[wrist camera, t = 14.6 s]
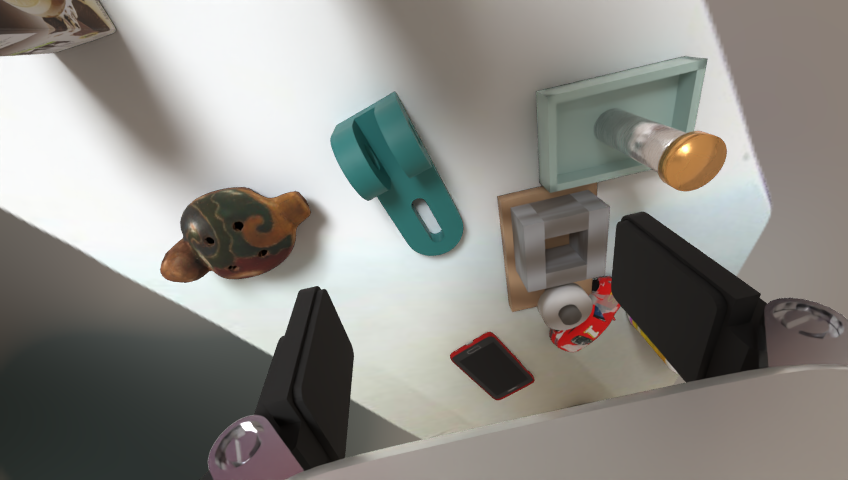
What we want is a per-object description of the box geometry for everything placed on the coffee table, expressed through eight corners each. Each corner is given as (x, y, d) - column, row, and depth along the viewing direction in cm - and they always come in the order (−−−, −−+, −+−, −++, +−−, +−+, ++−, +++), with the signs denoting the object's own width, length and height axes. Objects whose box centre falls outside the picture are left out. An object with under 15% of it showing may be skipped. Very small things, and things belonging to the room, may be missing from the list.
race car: (600, 267, 49) (617, 285, 46) (627, 280, 51) (645, 299, 47) (540, 332, 54) (551, 352, 51) (567, 342, 56) (579, 363, 53)
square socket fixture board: (497, 196, 41) (518, 227, 35) (590, 174, 41) (629, 202, 35) (508, 304, 50) (527, 345, 44) (586, 287, 50) (615, 325, 44)
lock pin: (590, 109, 37) (673, 143, 26) (633, 99, 36) (733, 128, 26) (588, 150, 39) (664, 196, 28) (628, 141, 39) (719, 184, 28)
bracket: (336, 125, 36) (325, 147, 29) (395, 90, 35) (398, 106, 28) (419, 254, 45) (426, 294, 38) (468, 230, 44) (484, 267, 37)
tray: (536, 91, 36) (547, 96, 33) (684, 56, 36) (707, 58, 33) (539, 182, 41) (550, 193, 39) (668, 152, 41) (688, 161, 38)
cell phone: (489, 328, 53) (491, 333, 52) (534, 376, 60) (537, 381, 59) (447, 353, 55) (448, 358, 54) (495, 397, 62) (497, 402, 61)
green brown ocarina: (162, 215, 39) (115, 249, 32) (279, 146, 37) (258, 166, 30) (225, 279, 43) (196, 322, 36) (333, 220, 42) (325, 252, 35)
